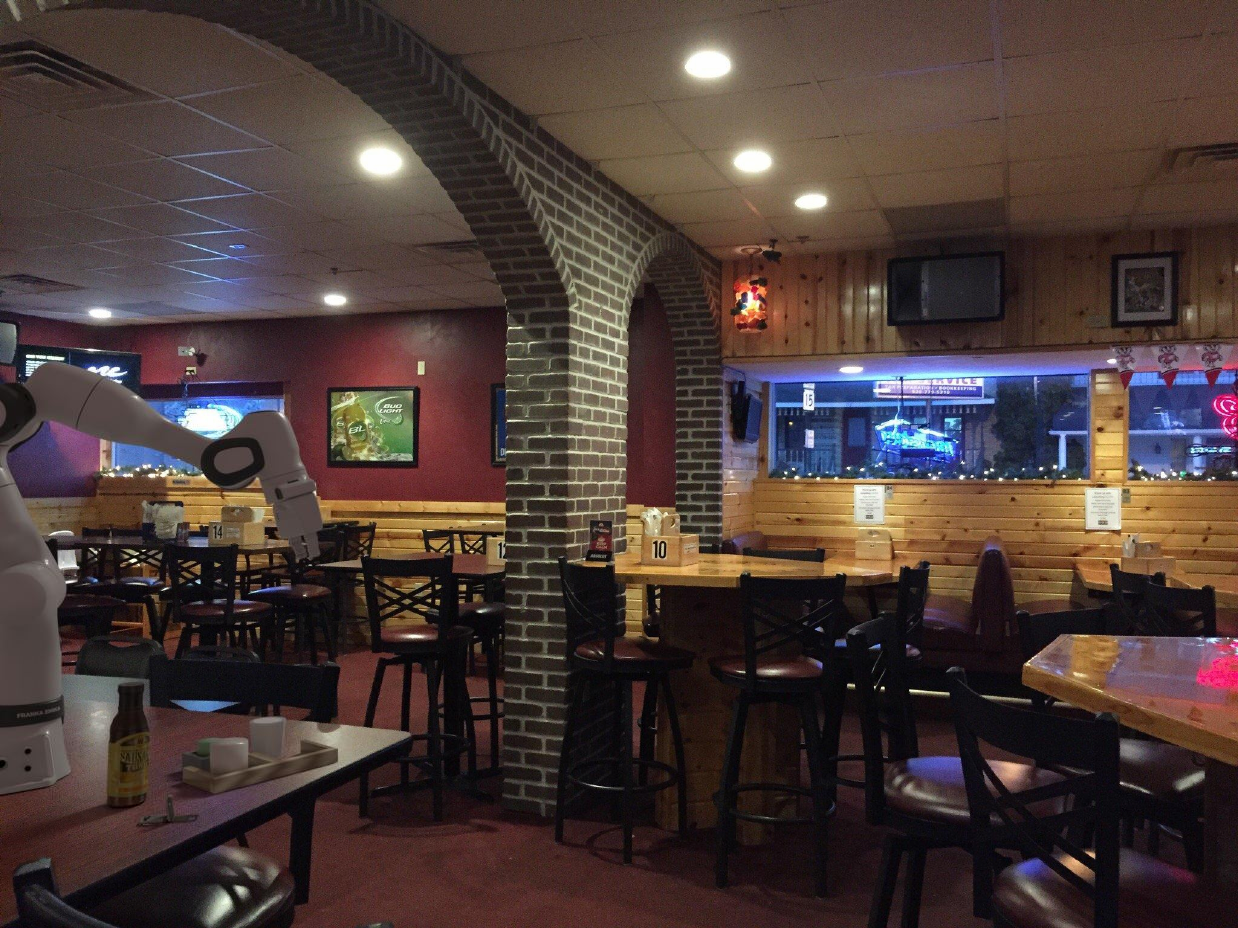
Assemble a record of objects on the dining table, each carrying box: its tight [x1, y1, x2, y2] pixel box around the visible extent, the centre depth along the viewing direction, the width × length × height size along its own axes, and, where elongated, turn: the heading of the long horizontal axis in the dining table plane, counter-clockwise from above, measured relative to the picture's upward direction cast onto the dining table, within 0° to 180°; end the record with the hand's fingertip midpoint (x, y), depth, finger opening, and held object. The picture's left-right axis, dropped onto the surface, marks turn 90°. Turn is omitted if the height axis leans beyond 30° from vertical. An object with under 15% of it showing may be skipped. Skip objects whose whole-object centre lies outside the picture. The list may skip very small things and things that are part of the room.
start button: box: [196, 737, 222, 757], centre depth 187 cm, size 4×4×3 cm
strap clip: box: [138, 794, 200, 825], centre depth 159 cm, size 8×3×4 cm, turn 105°
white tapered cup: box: [249, 715, 287, 758], centre depth 196 cm, size 7×7×7 cm
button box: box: [181, 749, 210, 773], centre depth 187 cm, size 7×7×3 cm
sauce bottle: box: [106, 681, 151, 808], centre depth 168 cm, size 7×6×20 cm
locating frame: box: [182, 738, 339, 795], centre depth 185 cm, size 25×11×2 cm, turn 141°
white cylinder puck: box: [210, 736, 249, 776], centre depth 179 cm, size 6×6×7 cm
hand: (308, 557), depth 195 cm, fingers open, 8 cm apart
